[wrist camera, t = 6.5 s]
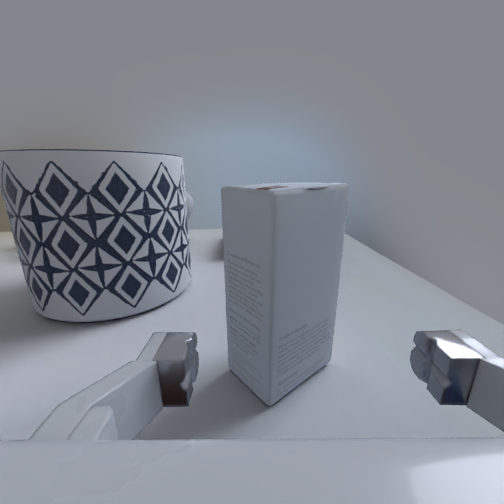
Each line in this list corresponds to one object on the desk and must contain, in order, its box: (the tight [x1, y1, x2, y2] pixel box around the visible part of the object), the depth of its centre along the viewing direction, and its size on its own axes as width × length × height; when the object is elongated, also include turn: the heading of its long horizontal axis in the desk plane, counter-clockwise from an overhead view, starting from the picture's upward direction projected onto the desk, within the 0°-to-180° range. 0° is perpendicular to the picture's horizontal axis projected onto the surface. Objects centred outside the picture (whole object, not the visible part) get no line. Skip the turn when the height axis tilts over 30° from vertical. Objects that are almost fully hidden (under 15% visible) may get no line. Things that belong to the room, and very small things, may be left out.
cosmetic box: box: [221, 182, 349, 406], centre depth 16 cm, size 6×4×12 cm
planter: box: [0, 149, 192, 322], centre depth 28 cm, size 16×16×14 cm
